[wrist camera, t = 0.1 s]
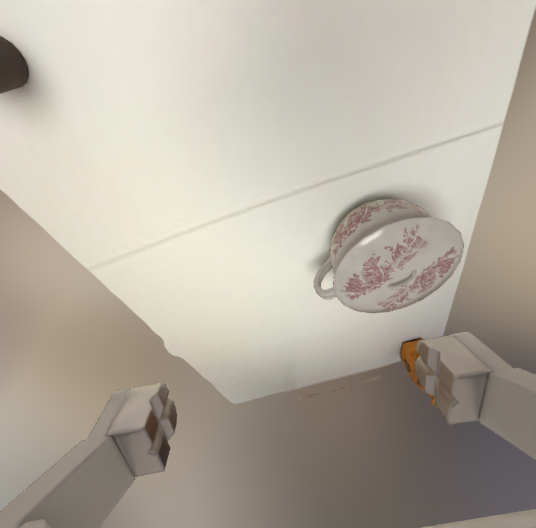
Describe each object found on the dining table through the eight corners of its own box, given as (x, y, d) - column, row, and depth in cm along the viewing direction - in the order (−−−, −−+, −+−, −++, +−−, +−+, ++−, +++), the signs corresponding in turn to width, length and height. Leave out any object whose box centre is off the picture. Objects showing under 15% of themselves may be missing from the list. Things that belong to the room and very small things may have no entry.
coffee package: (395, 356, 119) (421, 410, 103) (400, 340, 111) (430, 396, 95) (418, 352, 119) (448, 405, 103) (425, 336, 111) (459, 391, 95)
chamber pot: (445, 188, 66) (511, 240, 50) (388, 271, 83) (424, 329, 68) (337, 167, 59) (375, 220, 44) (300, 263, 77) (318, 324, 62)
